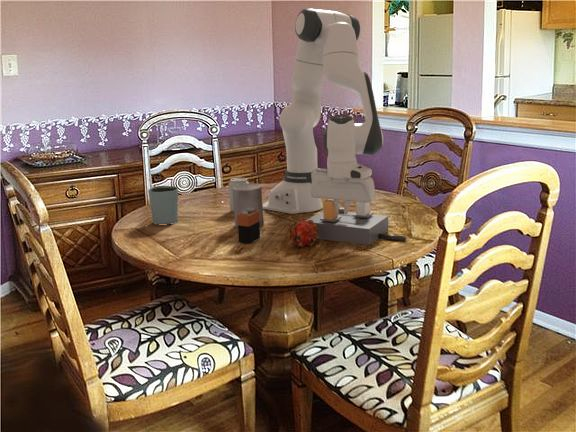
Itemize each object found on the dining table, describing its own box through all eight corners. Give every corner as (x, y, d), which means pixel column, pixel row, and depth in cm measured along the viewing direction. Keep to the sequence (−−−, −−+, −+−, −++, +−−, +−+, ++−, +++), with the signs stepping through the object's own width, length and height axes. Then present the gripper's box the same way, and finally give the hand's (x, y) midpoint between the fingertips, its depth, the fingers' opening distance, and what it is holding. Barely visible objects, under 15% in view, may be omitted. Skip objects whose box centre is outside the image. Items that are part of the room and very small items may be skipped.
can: (242, 214, 231) (240, 181, 228) (226, 212, 235) (224, 180, 232) (254, 209, 237) (252, 177, 234) (238, 207, 241) (236, 176, 238)
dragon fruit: (315, 244, 199) (299, 261, 190) (294, 227, 200) (277, 243, 191) (329, 225, 195) (313, 242, 185) (307, 208, 196) (290, 224, 186)
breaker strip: (304, 236, 202) (303, 221, 201) (326, 223, 215) (325, 209, 214) (397, 248, 187) (397, 231, 186) (414, 233, 201) (414, 218, 199)
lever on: (352, 216, 202) (352, 197, 201) (358, 212, 207) (358, 194, 205) (367, 218, 200) (367, 199, 199) (373, 214, 204) (373, 195, 203)
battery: (260, 238, 202) (259, 207, 199) (249, 244, 196) (248, 212, 194) (249, 236, 204) (247, 206, 201) (237, 242, 198) (236, 211, 196)
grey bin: (145, 222, 224) (142, 189, 221) (168, 216, 232) (166, 184, 228) (163, 227, 218) (159, 193, 215) (186, 221, 225) (183, 187, 222)
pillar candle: (250, 220, 223) (247, 178, 219) (269, 225, 216) (267, 181, 212) (229, 226, 216) (225, 183, 212) (248, 231, 210) (245, 187, 206)
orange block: (319, 220, 199) (319, 201, 198) (326, 216, 204) (326, 198, 202) (334, 222, 197) (334, 203, 195) (341, 217, 201) (341, 199, 200)
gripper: (306, 169, 197) (307, 213, 200) (368, 174, 187) (369, 219, 190) (315, 165, 202) (316, 208, 205) (376, 170, 192) (376, 214, 196)
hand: (342, 213), depth 198 cm, fingers closed
